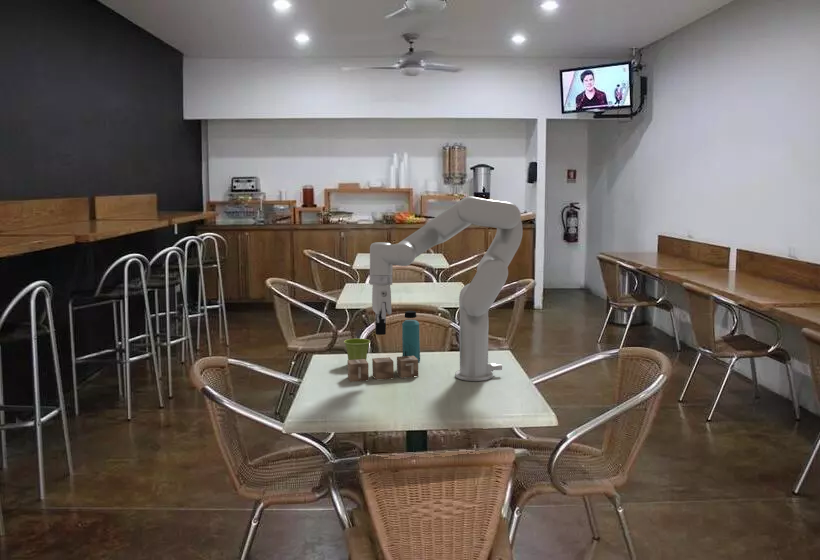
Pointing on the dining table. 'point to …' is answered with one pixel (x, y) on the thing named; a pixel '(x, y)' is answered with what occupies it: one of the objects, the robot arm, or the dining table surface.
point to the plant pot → (357, 348)
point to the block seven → (407, 366)
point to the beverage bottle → (411, 336)
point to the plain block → (383, 368)
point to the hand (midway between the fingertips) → (380, 334)
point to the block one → (358, 370)
